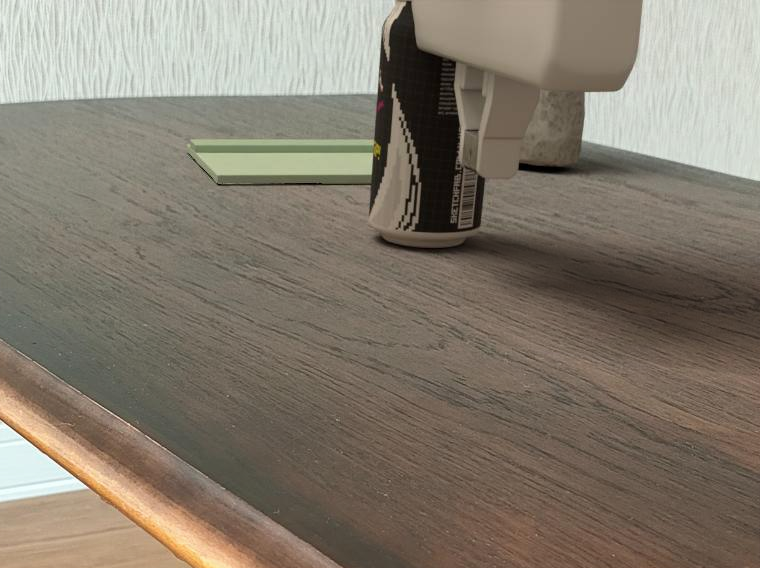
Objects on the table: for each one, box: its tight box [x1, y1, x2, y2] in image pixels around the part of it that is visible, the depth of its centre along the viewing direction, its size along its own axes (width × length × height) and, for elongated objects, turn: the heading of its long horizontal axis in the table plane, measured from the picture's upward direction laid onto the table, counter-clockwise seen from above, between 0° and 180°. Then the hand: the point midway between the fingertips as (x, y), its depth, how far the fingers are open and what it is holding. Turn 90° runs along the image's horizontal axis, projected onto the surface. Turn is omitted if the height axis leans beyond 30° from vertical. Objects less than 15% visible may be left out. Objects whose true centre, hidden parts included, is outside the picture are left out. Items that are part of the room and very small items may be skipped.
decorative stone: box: [519, 89, 586, 168], centre depth 96 cm, size 11×6×15 cm, turn 46°
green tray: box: [186, 138, 374, 185], centre depth 94 cm, size 16×12×1 cm
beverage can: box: [368, 0, 486, 249], centre depth 72 cm, size 6×6×12 cm
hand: (486, 173), depth 65 cm, fingers closed
